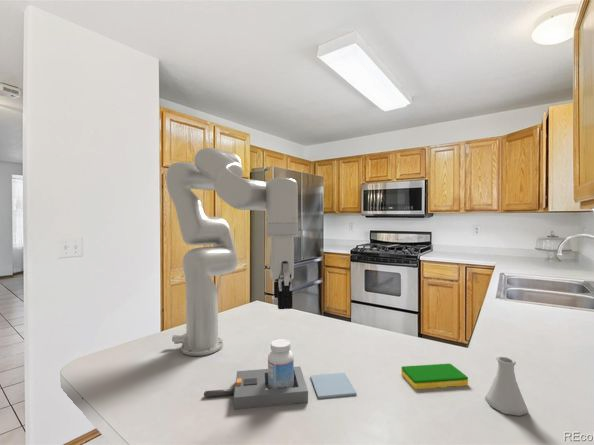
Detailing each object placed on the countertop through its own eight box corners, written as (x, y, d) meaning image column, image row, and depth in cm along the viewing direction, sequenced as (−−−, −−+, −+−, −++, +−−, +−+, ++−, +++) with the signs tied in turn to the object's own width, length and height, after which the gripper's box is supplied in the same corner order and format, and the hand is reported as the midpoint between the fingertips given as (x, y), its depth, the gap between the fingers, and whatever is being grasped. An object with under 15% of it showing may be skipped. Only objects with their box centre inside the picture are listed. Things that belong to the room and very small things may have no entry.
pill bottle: (297, 385, 71) (297, 339, 71) (288, 400, 65) (288, 350, 65) (274, 381, 73) (274, 336, 73) (263, 395, 67) (263, 346, 67)
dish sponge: (400, 375, 76) (400, 366, 76) (450, 372, 78) (450, 363, 78) (414, 391, 69) (414, 381, 69) (468, 387, 70) (468, 377, 70)
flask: (478, 396, 66) (478, 352, 66) (508, 395, 67) (508, 351, 67) (503, 418, 59) (503, 368, 59) (536, 416, 59) (536, 367, 59)
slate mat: (318, 398, 65) (318, 396, 65) (310, 377, 74) (310, 375, 74) (356, 394, 67) (356, 392, 67) (344, 374, 76) (344, 372, 76)
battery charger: (199, 412, 61) (199, 397, 61) (207, 383, 72) (207, 370, 72) (308, 402, 64) (308, 388, 64) (300, 376, 75) (300, 364, 75)
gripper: (264, 230, 77) (265, 294, 77) (268, 232, 60) (269, 315, 60) (292, 229, 78) (293, 293, 78) (304, 231, 61) (305, 313, 61)
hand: (282, 302), depth 69 cm, fingers open, 9 cm apart
